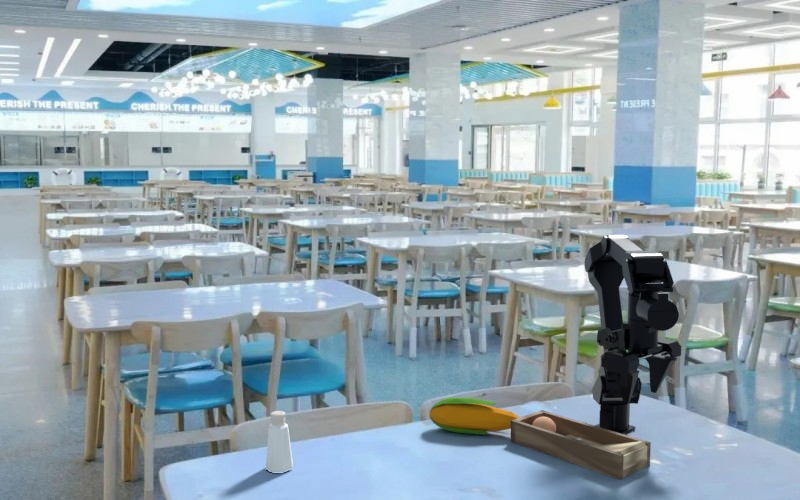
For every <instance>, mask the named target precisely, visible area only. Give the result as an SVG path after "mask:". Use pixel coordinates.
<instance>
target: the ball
mask: <svg viewBox="0 0 800 500" xmlns="http://www.w3.org/2000/svg"><path fill="white" fill-rule="evenodd" d="M532 425H533V426H536V427H539V428H542V429H545V430H549V431H552V432H555V433H556V425H555V423H554V422H553V420H552V419H550V418H548V417H539V418H537V419H536V420H535V421H534V422H533V424H532Z"/></svg>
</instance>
